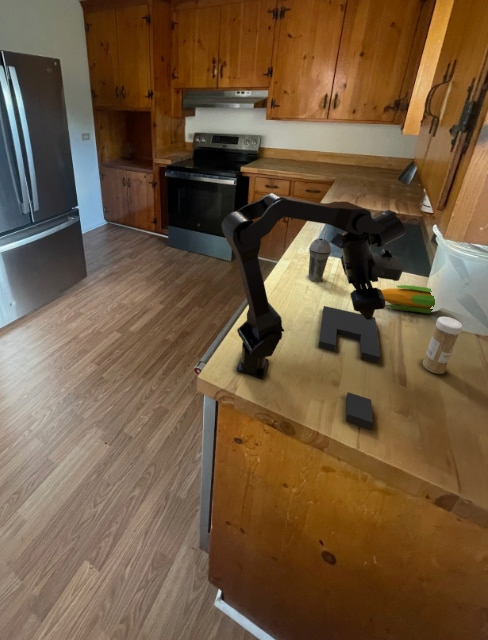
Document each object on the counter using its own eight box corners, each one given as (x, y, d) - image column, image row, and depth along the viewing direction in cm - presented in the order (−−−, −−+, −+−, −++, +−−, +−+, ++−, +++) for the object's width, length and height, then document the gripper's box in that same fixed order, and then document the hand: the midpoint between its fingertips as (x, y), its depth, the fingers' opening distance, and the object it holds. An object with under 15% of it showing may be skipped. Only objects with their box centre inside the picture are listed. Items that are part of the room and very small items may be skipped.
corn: (456, 296, 95) (380, 287, 99) (449, 319, 97) (375, 310, 102) (444, 285, 102) (373, 277, 106) (437, 307, 104) (369, 298, 109)
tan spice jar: (445, 377, 77) (464, 330, 72) (421, 369, 79) (438, 323, 74) (444, 365, 80) (462, 320, 75) (421, 358, 83) (437, 313, 77)
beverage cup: (300, 275, 123) (308, 224, 115) (316, 272, 125) (325, 223, 117) (312, 284, 116) (322, 232, 109) (329, 281, 118) (340, 229, 111)
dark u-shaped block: (378, 363, 81) (380, 357, 80) (318, 347, 86) (319, 340, 85) (373, 322, 96) (375, 317, 95) (322, 311, 101) (323, 305, 101)
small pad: (370, 429, 64) (373, 422, 63) (345, 421, 66) (347, 414, 65) (369, 406, 69) (371, 399, 68) (345, 398, 71) (347, 391, 70)
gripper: (412, 274, 64) (416, 331, 70) (386, 227, 79) (391, 277, 86) (349, 282, 68) (358, 335, 75) (336, 236, 83) (345, 283, 90)
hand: (365, 305), depth 81 cm, fingers open, 9 cm apart
